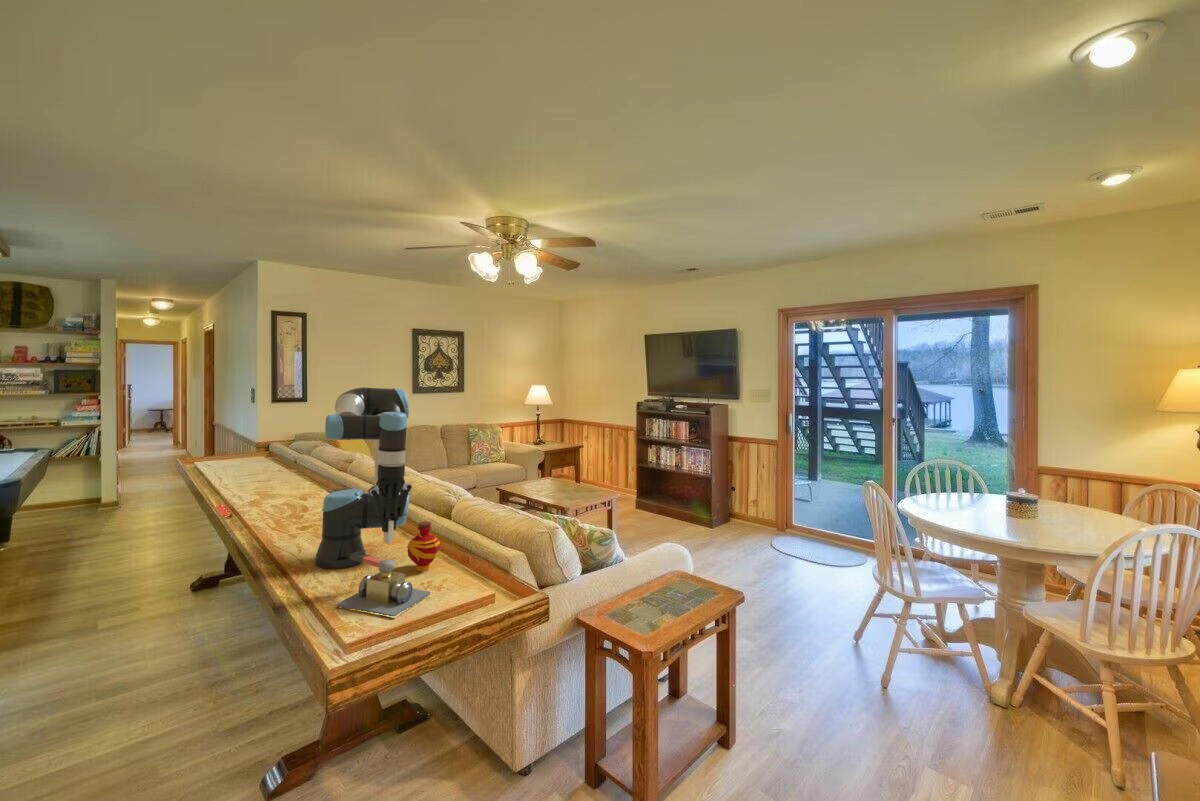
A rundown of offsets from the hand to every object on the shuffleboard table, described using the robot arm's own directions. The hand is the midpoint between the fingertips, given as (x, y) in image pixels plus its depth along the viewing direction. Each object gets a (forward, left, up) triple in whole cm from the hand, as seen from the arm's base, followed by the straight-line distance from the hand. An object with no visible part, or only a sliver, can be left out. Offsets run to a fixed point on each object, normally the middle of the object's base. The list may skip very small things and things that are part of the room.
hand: (388, 541), depth 154 cm
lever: (+1, -8, -4) cm, 9 cm away
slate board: (+7, -10, -13) cm, 18 cm away
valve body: (+7, -10, -13) cm, 18 cm away
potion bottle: (+2, +15, -13) cm, 20 cm away
